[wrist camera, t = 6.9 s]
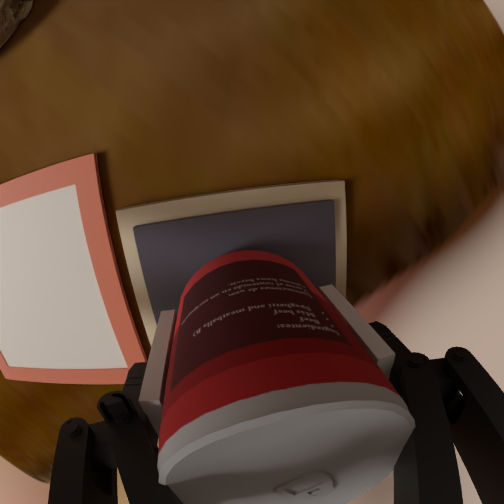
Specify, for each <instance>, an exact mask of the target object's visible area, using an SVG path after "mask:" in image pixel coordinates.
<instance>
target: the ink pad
mask: <svg viewBox="0 0 504 504" xmlns="http://www.w3.org/2000/svg"><path fill="white" fill-rule="evenodd" d="M116 216H117V221H118V226H119V231H120V236H121V241H122V245H123V250H124V254H125V258H126V262H127V266H128V270H129V274H130V278H131V282H132V286H133V289H134V293H135V296H136V300H137V303H138V307H139V310H140V313H141V317H142V320H143V323H144V326H145V329H146V332H147V336H148V339H149V342H150V344H151V347H152V343H153V339H154V335H155V331H156V328H157V324H158V321H159V317H160V313H161V311H166V310H175V312H176V316H177V315H178V310H179V305H180V299H181V295H182V293H183V291H184V289H185V287H186V284H187V283H188V282H189V280H190V279H191V278H192V276H193V275H194V274H195V273H196V272H197V271H198V270H199V269H200V268H201V267H203V266H204V265H205V264H206V263H208V262H210V261H211V260H213V259H215V258H217V257H219V256H220V255H224V254H227V253H230V252H233V251H241V250H256V251H265V252H269V253H272V254H276V255H279V256H281V257H283V258H285V259H287V260H289V261H291V262H292V263H293V264H294V265H296V266H297V267H298V268H299V269H301V270H302V272H303V273H304V274H305V275H306V276H307V278H308V279H309V280H310V281H311V283H312V284H313V285H314V286H315V287H316V289H317V290H318V291H319V287H321V286H327V285H333V286H334V287H335V288H336V289H337V290H338V291H339V292H340V293H341V294H342V296H343V297H344V298H345V299H346V273H347V231H346V198H345V181H343V180H338V179H337V180H323V181H311V182H300V183H289V184H280V185H270V186H261V187H253V188H244V189H236V190H229V191H221V192H214V193H207V194H200V195H194V196H187V197H181V198H174V199H168V200H163V201H157V202H151V203H145V204H140V205H135V206H129V207H124V208H120V209H118V210H117V211H116Z"/></svg>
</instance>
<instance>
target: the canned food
mask: <svg viewBox="0 0 504 504" xmlns="http://www.w3.org/2000/svg"><path fill="white" fill-rule="evenodd" d="M415 427H416V426H415V420H414V418H413V417H412V415H411V414H410V413H409V410H408V407H407V405H406V403H405V402H404V401H403V399H402V398H401V397H400V395H399V394H398V393H397V391H396V390H395V389H394V387H393V385H392V384H391V382H390V381H389V380H388V378H387V377H386V375H385V374H384V373H383V371H382V370H381V369H380V368H379V366H378V365H377V364H376V362H375V361H374V360H373V359H372V357H371V356H370V355H369V353H368V352H367V351H366V350H365V348H364V347H363V346H362V345H361V343H360V342H359V341H358V340H357V338H356V337H355V336H354V334H353V333H352V332H351V331H350V329H349V328H348V327H347V326H346V324H345V323H344V322H343V321H342V319H341V318H340V317H339V316H338V314H337V313H336V312H335V311H334V310H333V308H332V307H331V306H330V305H329V303H328V302H327V301H326V300H325V298H324V297H323V296H322V295H321V293H320V292H319V291H318V290H317V289H316V287H315V286H314V285H313V284H312V283H311V281H310V280H309V279H308V278H307V276H306V275H305V274H304V273H303V272H302V270H301V269H299V268H298V267H297V266H296V265H294V264H293V263H292V262H291V261H289V260H287V259H285V258H283V257H281V256H279V255H276V254H272V253H269V252H265V251H256V250H241V251H233V252H230V253H227V254H224V255H220V256H219V257H217V258H215V259H213V260H211V261H210V262H208V263H206V264H205V265H204V266H203V267H201V268H200V269H199V270H198V271H197V272H196V273H195V274H194V275H193V276H192V278H191V279H190V280H189V282H188V283H187V284H186V287H185V289H184V291H183V293H182V295H181V299H180V305H179V310H178V315H177V321H176V326H175V332H174V337H173V343H172V349H171V355H170V361H169V368H168V374H167V381H166V388H165V395H164V402H163V410H162V418H161V426H160V434H159V452H158V463H157V468H158V472H159V482H158V483H160V484H163V485H168V486H169V487H170V489H171V490H172V491H173V492H174V493H175V494H176V496H177V497H178V498H179V499H180V500H181V501H182V503H183V504H345V503H347V502H349V501H351V500H353V499H355V498H357V497H359V496H360V495H362V494H364V493H365V492H367V491H369V490H370V489H372V488H373V487H374V486H376V485H377V484H378V483H379V482H381V481H382V480H383V479H384V478H386V477H387V476H388V475H389V474H390V473H391V472H392V471H393V470H394V466H395V464H396V461H397V459H398V457H399V455H400V453H401V452H402V450H403V448H404V446H405V444H406V442H407V440H408V439H409V437H410V435H411V433H412V431H413V429H414V428H415Z"/></svg>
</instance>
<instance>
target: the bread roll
mask: <svg viewBox="0 0 504 504" xmlns="http://www.w3.org/2000/svg"><path fill="white" fill-rule="evenodd" d="M32 3H33V1H31V0H0V48H1V47H2V46H3V45H4V44H5V43H6V41H7V40H8V39H9V38H10V37H11V35H12V34H13V33H14V31H15V30H16V28H17V26H18V25H19V23H20V21H22V20H23V19H24V18H26V17H27V16H28V14H29V12H30V10H31V8H32Z"/></svg>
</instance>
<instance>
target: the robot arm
mask: <svg viewBox="0 0 504 504" xmlns="http://www.w3.org/2000/svg"><path fill="white" fill-rule="evenodd" d="M319 292H320V293H321V295H322V296H323V297H324V298H325V300H326V301H327V302H328V303H329V305H330V306H331V307H332V308H333V310H334V311H335V312H336V313H337V314H338V316H339V317H340V318H341V319H342V321H343V322H344V323H345V324H346V326H347V327H348V328H349V329H350V331H351V332H352V333H353V334H354V336H355V337H356V338H357V340H358V341H359V342H360V343H361V345H362V346H363V347H364V348H365V350H366V351H367V352H368V353H369V355H370V356H371V357H372V359H373V360H374V361H375V362H376V364H377V365H378V366H379V368H380V369H381V370H382V371H383V373H384V374H385V375H386V377H387V378H388V380H389V381H390V382H391V384H392V385H393V387H394V389H395V390H396V391H397V393H398V394H399V395H400V397H401V398H402V399H403V401H404V402H405V403H406V405H407V407H408V410H409V413H410V414H411V415H412V417H413V418H414V420H415V426H416V427H415V428H414V429H413V431H412V433H411V435H410V437H409V439H408V440H407V442H406V444H405V446H404V448H403V450H402V452H401V453H400V455H399V457H398V459H397V461H396V464H395V466H394V504H463V498H462V490H461V483H460V477H459V470H458V465H457V459H456V454H455V449H454V445H455V447H456V449H457V451H458V453H459V455H460V456H461V459H462V461H463V463H464V465H465V467H466V469H467V471H468V473H469V475H470V477H471V480H472V482H473V484H474V486H475V488H476V490H477V493H478V495H479V497H480V500H481V502H482V504H504V393H503V391H502V390H501V389H500V388H499V386H498V385H497V384H496V382H495V381H494V380H493V379H492V377H491V376H490V375H489V374H488V372H487V371H486V370H485V369H484V368H483V367H482V365H481V364H480V363H479V362H478V361H477V360H476V359H475V357H474V356H473V355H472V354H471V352H469V351H468V350H467V349H465V348H462V347H452V348H450V349H448V351H447V352H446V354H445V358H440V359H432V360H429V359H428V357H427V356H425V355H423V354H420V353H415V352H413V353H411V352H410V350H409V349H408V348H407V347H406V346H405V345H404V344H403V343H402V342H401V341H400V340H399V339H398V338H397V337H396V336H395V335H394V334H393V333H391V331H390V330H389V329H388V328H387V327H386V326H385V325H383V324H381V323H379V322H377V321H375V322H372V323H367V322H366V320H365V319H364V318H363V317H362V316H361V315H360V314H359V313H358V312H357V311H356V310H355V308H354V307H353V306H352V305H351V304H350V303H349V302H348V301H347V300H346V299H345V298H344V297H343V296H342V294H341V293H340V292H339V291H338V290H337V289H336V288H335V287H334V286H333V285H327V286H321V287H319ZM176 321H177V316H176V312H175V310H166V311H161V313H160V317H159V321H158V324H157V328H156V331H155V335H154V339H153V343H152V347H151V351H150V354H149V358H148V362H138V363H134V365H133V366H132V367H131V368H130V369H129V371H128V374H127V377H126V378H127V379H126V381H125V386H124V387H123V391H113V392H109V393H107V394H105V395H104V396H102V397H101V398H100V400H99V401H98V404H97V408H98V410H99V412H100V413H101V415H102V416H103V418H104V420H105V421H102V422H98V423H94V424H89V425H88V423H87V422H86V420H84V419H82V418H77V417H75V418H71V419H69V420H67V421H65V423H64V424H63V425H62V426H61V429H60V432H59V437H58V441H57V446H56V452H55V457H54V463H53V469H52V475H51V482H50V490H49V500H48V504H118V496H117V467H118V470H119V473H120V476H121V480H122V483H123V485H124V489H125V492H126V494H127V497H128V500H129V503H130V504H183V503H182V501H181V500H180V499H179V498H178V497H177V496H176V494H175V493H174V492H173V491H172V490H171V489H170V487H169V486H168V485H163V484H160V483H158V482H159V472H158V468H157V463H158V452H159V448H158V447H157V442H158V438H159V434H160V426H161V418H162V410H163V402H164V395H165V388H166V381H167V374H168V368H169V361H170V355H171V349H172V343H173V337H174V332H175V326H176ZM460 392H461V393H462V395H463V396H462V395H461V394H460ZM453 443H454V444H453Z"/></svg>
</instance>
